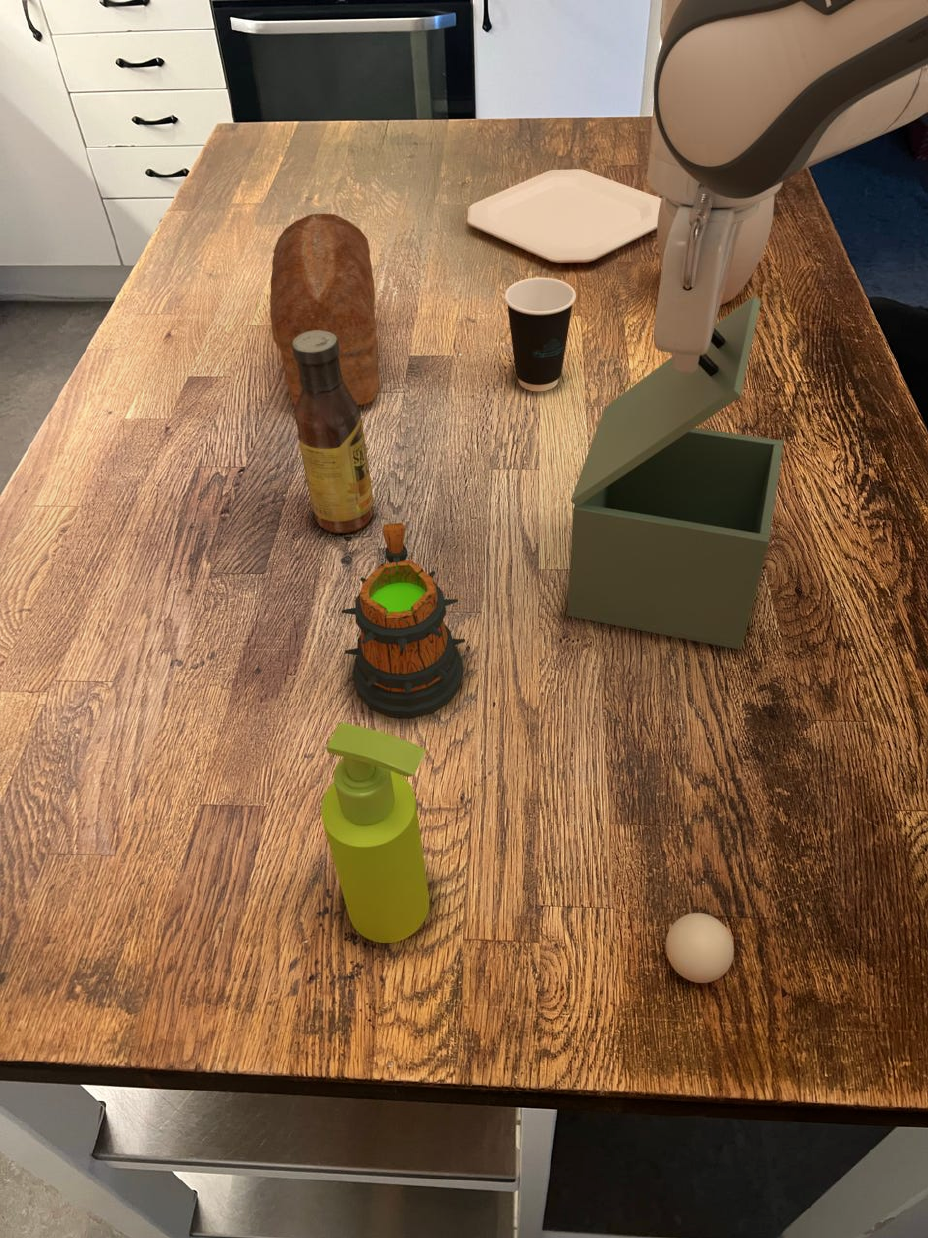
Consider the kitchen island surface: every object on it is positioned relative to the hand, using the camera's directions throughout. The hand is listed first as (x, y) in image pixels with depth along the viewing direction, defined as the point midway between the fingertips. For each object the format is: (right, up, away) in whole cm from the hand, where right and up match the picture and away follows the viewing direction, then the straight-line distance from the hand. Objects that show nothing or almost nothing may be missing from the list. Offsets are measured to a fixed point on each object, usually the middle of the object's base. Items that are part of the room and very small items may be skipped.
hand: (692, 344), depth 73 cm
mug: (-22, -25, +12) cm, 35 cm away
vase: (+14, +21, +54) cm, 60 cm away
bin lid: (-1, -4, +4) cm, 6 cm away
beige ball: (-2, -42, -9) cm, 44 cm away
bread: (-33, +12, +47) cm, 59 cm away
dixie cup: (-8, +8, +42) cm, 43 cm away
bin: (+2, -17, +18) cm, 25 cm away
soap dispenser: (-22, -41, -4) cm, 47 cm away
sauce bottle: (-29, -10, +26) cm, 41 cm away
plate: (-2, +38, +70) cm, 79 cm away
